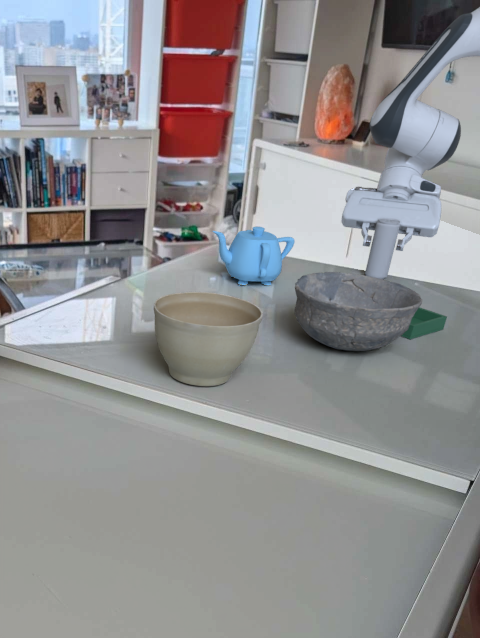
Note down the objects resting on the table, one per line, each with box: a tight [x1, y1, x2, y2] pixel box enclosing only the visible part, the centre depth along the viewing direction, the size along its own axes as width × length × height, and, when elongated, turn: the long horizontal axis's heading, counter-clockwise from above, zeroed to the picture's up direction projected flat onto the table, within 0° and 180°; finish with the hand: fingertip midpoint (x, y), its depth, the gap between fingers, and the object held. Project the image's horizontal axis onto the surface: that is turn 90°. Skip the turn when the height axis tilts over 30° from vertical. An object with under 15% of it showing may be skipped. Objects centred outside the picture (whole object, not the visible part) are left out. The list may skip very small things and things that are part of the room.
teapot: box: [211, 226, 296, 286], centre depth 159 cm, size 13×14×11 cm
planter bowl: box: [153, 291, 264, 387], centre depth 116 cm, size 16×16×11 cm
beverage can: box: [364, 218, 400, 280], centre depth 165 cm, size 5×5×12 cm
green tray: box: [400, 306, 448, 340], centre depth 141 cm, size 10×10×2 cm
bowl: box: [294, 271, 423, 352], centre depth 129 cm, size 21×21×10 cm
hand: (382, 247), depth 164 cm, fingers open, 5 cm apart
